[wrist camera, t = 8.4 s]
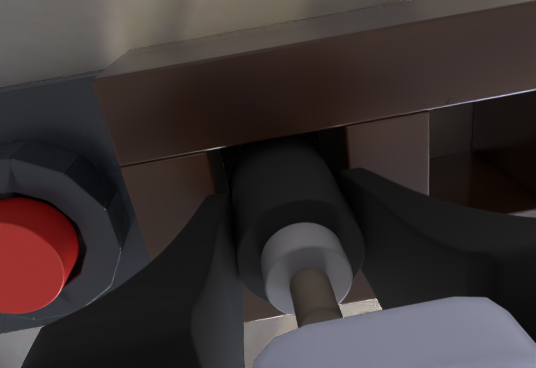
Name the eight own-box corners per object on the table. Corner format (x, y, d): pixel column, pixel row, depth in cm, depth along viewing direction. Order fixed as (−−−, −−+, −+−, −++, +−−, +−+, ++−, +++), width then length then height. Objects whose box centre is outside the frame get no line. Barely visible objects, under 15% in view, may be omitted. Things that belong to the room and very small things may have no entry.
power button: (93, 272, 17) (80, 303, 15) (-2, 289, 16) (-26, 323, 15) (58, 187, 15) (39, 212, 13) (-47, 207, 15) (-79, 234, 13)
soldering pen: (326, 202, 16) (403, 367, 9) (240, 218, 16) (254, 396, 9) (317, 119, 15) (399, 241, 8) (222, 136, 15) (224, 274, 8)
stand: (521, 191, 20) (608, 254, 15) (186, 254, 20) (175, 337, 15) (545, -24, 16) (672, -25, 12) (127, 50, 16) (89, 80, 11)
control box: (177, 284, 20) (171, 331, 18) (6, 316, 20) (-27, 368, 17) (110, 68, 16) (88, 86, 13) (-110, 107, 16) (-178, 134, 13)
